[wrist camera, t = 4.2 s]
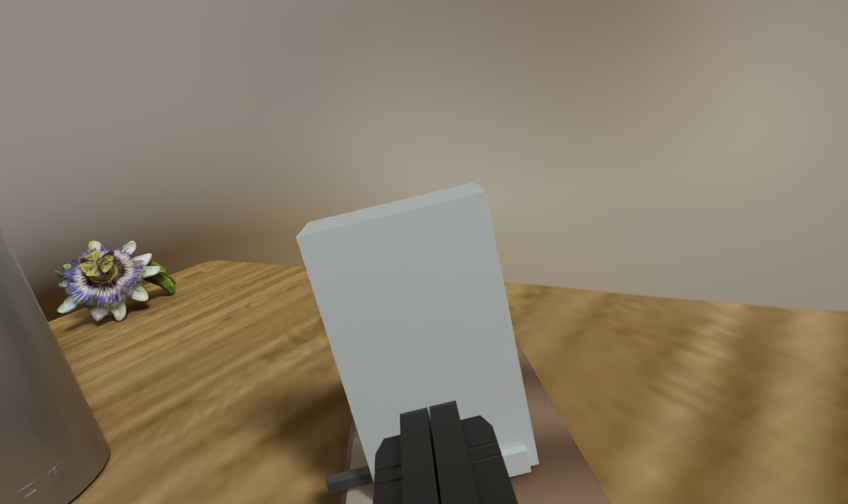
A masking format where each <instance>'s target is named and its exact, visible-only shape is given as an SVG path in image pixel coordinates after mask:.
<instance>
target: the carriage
mask: <svg viewBox="0 0 848 504" xmlns="http://www.w3.org/2000/svg"><path fill="white" fill-rule="evenodd" d="M296 238H297V242H298V244H299V248H300V251H301V254H302V257H303V260H304V264H305V267H306V270H307V273H308V276H309V279H310V283H311V286H312V289H313V292H314V295H315V298H316V302H317V305H318V308H319V311H320V314H321V317H322V320H323V324H324V327H325V330H326V333H327V336H328V339H329V343H330V346H331V349H332V352H333V355H334V358H335V362H336V365H337V368H338V371H339V374H340V377H341V380H342V384H343V387H344V390H345V393H346V396H347V399H348V403H349V406H350V409H351V412H352V415H353V418H354V422H355V425H356V428H357V431H358V434H359V437H360V440H361V444H362V447H363V450H364V453H365V456H366V459H367V463H368V466H364V467H360V468H356V469H352V470H348V471H344V472H340V473H336V474H332V475H328V479H327V487H328V490H329V493H330V494H332V493H336V492H340V491H344V490H348V489H352V488H357V487H361V486H365V485H369V484H373V483H374V474H375V471H374V469H375V454H376V452H377V450H378V448H379V446H380V445H381V443H382V441H383V439H384V438H388V437H392V436H396V435H400V414H401V413H405V412H409V411H413V410H417V409H421V408H426V407H427V408H428V411H429V406H433V405H438V404H442V403H446V402H450V401H454V400H456V403H457V407H458V411H459V416H460V420H462V419H466V418H470V417H474V416H479V415H481V416H482V417H483V418H484V419H485V420H486V421H487V422H489V423H490V424H491V425H492V426H493V429H494V432H495V435H496V438H497V441H498V444H499V447H500V450H501V453H502V456H503V459H504V462H505V465H506V468H507V471H508V474H509V477H512V476H516V475H520V474H525V473H529V472H531V467H530V466H533V465H537V464H539V461H538V456H537V450H536V445H535V440H534V435H533V430H532V425H531V420H530V415H529V410H528V404H527V399H526V394H525V389H524V384H523V379H522V374H521V369H520V363H519V358H518V353H517V348H516V343H515V338H514V333H513V328H512V323H511V317H510V312H509V307H508V302H507V297H506V292H505V287H504V282H503V277H502V271H501V266H500V261H499V256H498V252H497V246H496V241H495V236H494V230H493V225H492V220H491V215H490V210H489V205H488V200H487V195H486V191H484V190H483V189H482V188H481V187H479V186H478V185H476V184H475V183H469V184H465V185H461V186H457V187H453V188H449V189H444V190H440V191H436V192H432V193H428V194H424V195H419V196H415V197H411V198H407V199H403V200H399V201H395V202H390V203H387V204H382V205H378V206H374V207H370V208H366V209H362V210H357V211H353V212H349V213H345V214H341V215H337V216H333V217H328V218H324V219H320V220H316V221H312V222H308V223H307V225H306V226H305V227H304V228H303V230H302V231H301V232H300V233H299V234H298V236H297V237H296ZM429 415H430V411H429Z"/></svg>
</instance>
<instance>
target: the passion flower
mask: <svg viewBox="0 0 848 504" xmlns="http://www.w3.org/2000/svg"><path fill="white" fill-rule="evenodd" d="M135 248H136V243H135V242H134V241H130V242H129V243H127V244H126V245H124V246H122V247H120V248H118V249H117V250H115V249H114V250H111V247H110V248H109V251H108V252H107V251H106V250H105V248H104V245H101V244H100V243H99V242H97V241H91V242H90V243H89V244H88V247H87V251H86V250H85V251H83V253H82V255H78V256H79V258H78V259H77V260H74V259H73V260H72V263H70V264H65V265H63V269H64V271H65V273H63V274H62V273H60V272H59V271H55V273H56V274H57V275H58V276H59V277H62V278H63V279H65V280H64V282H62V283H59V284H58V286H59V287H60V288H66V289H65V291H66V299H65V300H64V301H63V302H62V303H61V304H60V305H59V307H58V308H57V309H56V313H57V314H58V315H62V314H65V313H68V312H71V311H72V310H73V309H75V308H76V307H77V306H80V305H81V306H84V307H87V308H88V309H89V310H90V313H91V316H92V318H93V319H94V320H95V321H96V322H99V321H101V320H103V319H104V318H105V317H107V316H112V317H114V318H115V320H117V321H118V322H121V321H123V320H124V319H125V317H126V310H127V308H126V302H127V301H128V300H129V299H130V300H135V301H137V302H147V301H148V292H147V290H146V289H145V287H144V284H143V281H144V280H145V281H148V282H151V283H153V284H155V285H158V286H160V287H162V288H163V289H165V290H166V291H168V292H169V293H171V294H173V295H174V294H175V284H176V281H175V280H174V279H173V278H171V277H170V276H169V275H167V274H166V270H165V269H164V268H163V267H162V266H160V265H158V264H157V263H154V262H152V261H151V260H150V259H151V258H152V254H150V253H148V254H144V255H140V256H134V257H133V256H132V255H133V254H134V251H135Z"/></svg>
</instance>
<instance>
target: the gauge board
mask: <svg viewBox="0 0 848 504" xmlns="http://www.w3.org/2000/svg"><path fill="white" fill-rule="evenodd" d="M514 338H515V337H514ZM515 343H516V348H517V353H518V358H519V363H520V369H521V374H522V379H523V384H524V389H525V394H526V399H527V404H528V410H529V415H530V420H531V425H532V430H533V435H534V440H535V445H536V450H537V456H538V461H539V464H537V465H533V466H530V467H531V472H529V473H525V474H520V475H516V476H512V477H510V480H511V483H512V486H513V489H514V492H515V495H516V498H517V501H518V504H610V502H609V501H608V499H607V497H606V495H605V494H604V492H603V490H602V488H601V487H600V485H599V483H598V481H597V480H596V478H595V476H594V475H593V473H592V471H591V469H590V468H589V466H588V464H587V462H586V461H585V459H584V457H583V455H582V454H581V452H580V450H579V448H578V447H577V445H576V443H575V441H574V440H573V438H572V436H571V435H570V433H569V431H568V429H567V428H566V426H565V424H564V422H563V421H562V419H561V417H560V415H559V414H558V412H557V410H556V408H555V407H554V405H553V403H552V401H551V400H550V398H549V396H548V395H547V393H546V391H545V389H544V388H543V386H542V384H541V382H540V381H539V379H538V377H537V375H536V374H535V372H534V370H533V368H532V367H531V365H530V363H529V361H528V360H527V358H526V356H525V355H524V353H523V351H522V349H521V348H520V346H519V344H518V342H517V341H516V339H515ZM364 466H368V463H367V459H366V456H365V453H364V450H363V447H362V444H361V440H360V437H359V434H358V431H357V428H356V425H355V422H354V418H353V415H352V416H351V423H350V431H349V438H348V446H347V453H346V460H345V468H344V471H348V470H352V469H356V468H360V467H364ZM373 491H374V483H373V484H369V485H365V486H361V487H357V488H352V489H348V490H344V491H341V498H340V504H373Z"/></svg>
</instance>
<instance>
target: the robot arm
mask: <svg viewBox="0 0 848 504" xmlns="http://www.w3.org/2000/svg"><path fill="white" fill-rule="evenodd" d="M3 235H4V234H3V232H2V230H1V228H0V504H68V503H69V502H70V501H71V500H73V499H74V498H75V497H76V496H77V495H79V494H80V493H81V492H82V491H83V490H84V489H85V488H86V487H87V486H88V485H89V484H90V483H91V482H92V481H93V480H94V479H95V478H96V476H97V475H98V474H99V473H100V471H101V470H102V469H103V467H104V465H105V463H106V462H107V460H108V457H109V451H110V450H109V447H108V445H107V443H106V441H105V439H104V437H103V434H102V432H101V430H100V428H99V426H98V424H97V422H96V420H95V418H94V416H93V414H92V412H91V410H90V408H89V406H88V404H87V402H86V400H85V397H84V395H83V393H82V391H81V389H80V387H79V385H78V383H77V381H76V379H75V376H74V374H73V372H72V370H71V368H70V366H69V364H68V362H67V360H66V358H65V356H64V354H63V352H62V350H61V348H60V346H59V344H58V342H57V340H56V338H55V336H54V334H53V332H52V330H51V328H50V326H49V324H48V322H47V320H46V318H45V316H44V314H43V312H42V310H41V308H40V306H39V304H38V302H37V300H36V298H35V296H34V294H33V292H32V289H31V287H30V286H29V283H28V281H27V279H26V277H25V275H24V273H23V271H22V269H21V267H20V265H19V263H18V261H17V259H16V257H15V255H14V253H13V251H12V249H11V247H10V245H9V243H8V241H7V239H6V237H5V236H3ZM429 411H430V415H429ZM429 411H428V408H427V407H426V408H421V409H417V410H413V411H409V412H405V413H401V414H400V435H396V436H392V437H388V438H384V439H383V441H382V443H381V445H380V446H379V448H378V450H377V452H376V454H375V469H374V471H375V474H374V491H373V504H518V501H517V498H516V495H515V492H514V489H513V486H512V483H511V480H510V477H509V474H508V471H507V468H506V465H505V462H504V459H503V456H502V453H501V450H500V447H499V444H498V441H497V438H496V435H495V432H494V429H493V426H492V425H491V424H490V423H489V422H487V421H486V420H485V419H484V418H483V417H482V416H481V415H479V416H474V417H470V418H466V419H462V420H460V416H459V411H458V407H457V403H456V400H454V401H450V402H446V403H442V404H438V405H433V406H429Z"/></svg>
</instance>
